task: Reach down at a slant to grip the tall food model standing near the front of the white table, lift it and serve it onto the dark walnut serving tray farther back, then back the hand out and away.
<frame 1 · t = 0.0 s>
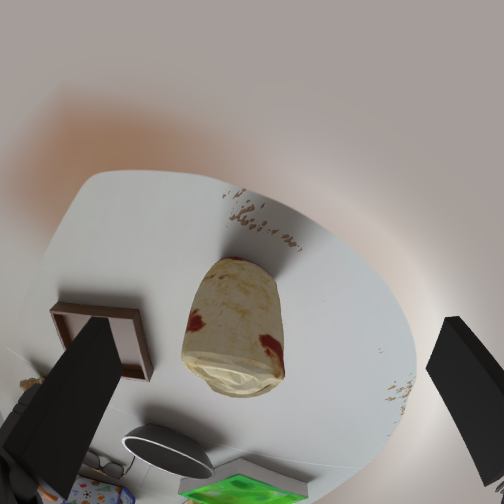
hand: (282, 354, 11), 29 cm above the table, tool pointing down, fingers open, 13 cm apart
seashell: (49, 384, 53), on the table
bowl: (174, 438, 57), on the table
food model: (242, 273, 42), on the table
lunch bag: (104, 485, 75), on the table
tray: (243, 484, 66), on the table
serving tray: (103, 338, 47), on the table
sunglasses: (107, 451, 63), on the table
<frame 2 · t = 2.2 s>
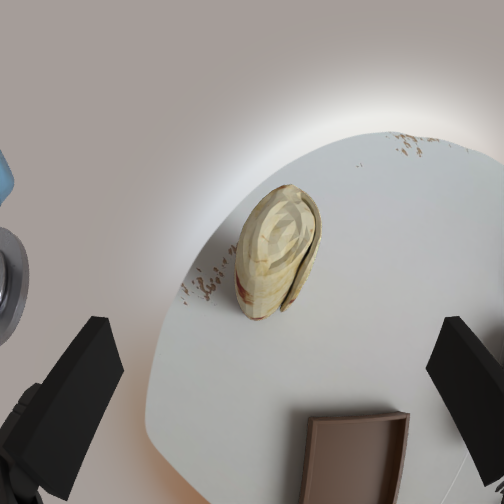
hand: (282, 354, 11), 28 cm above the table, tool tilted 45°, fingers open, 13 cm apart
food model: (266, 294, 40), on the table
serving tray: (351, 470, 31), on the table
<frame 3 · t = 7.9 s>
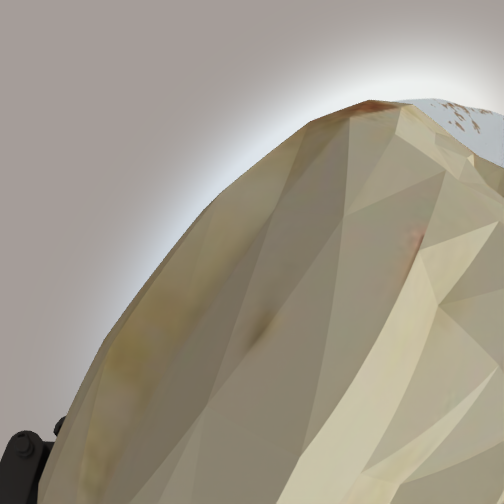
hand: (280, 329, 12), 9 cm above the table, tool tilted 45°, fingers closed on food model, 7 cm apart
food model: (270, 398, 19), on the table, touching gripper
when the fingers open (9 cm above the table, at t = 17.9 s): food model stays where it is, resting on serving tray.
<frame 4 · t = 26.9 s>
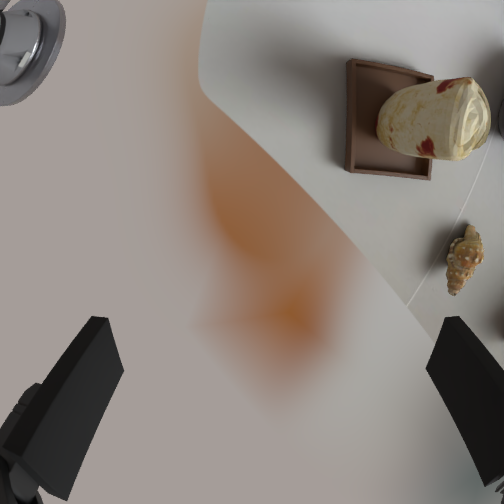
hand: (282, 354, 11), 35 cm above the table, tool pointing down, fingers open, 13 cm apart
seashell: (456, 254, 46), on the table
food model: (389, 120, 38), point 1 cm above the table, touching serving tray
serving tray: (388, 120, 38), on the table
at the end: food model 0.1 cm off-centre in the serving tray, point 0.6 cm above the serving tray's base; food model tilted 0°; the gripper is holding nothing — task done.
